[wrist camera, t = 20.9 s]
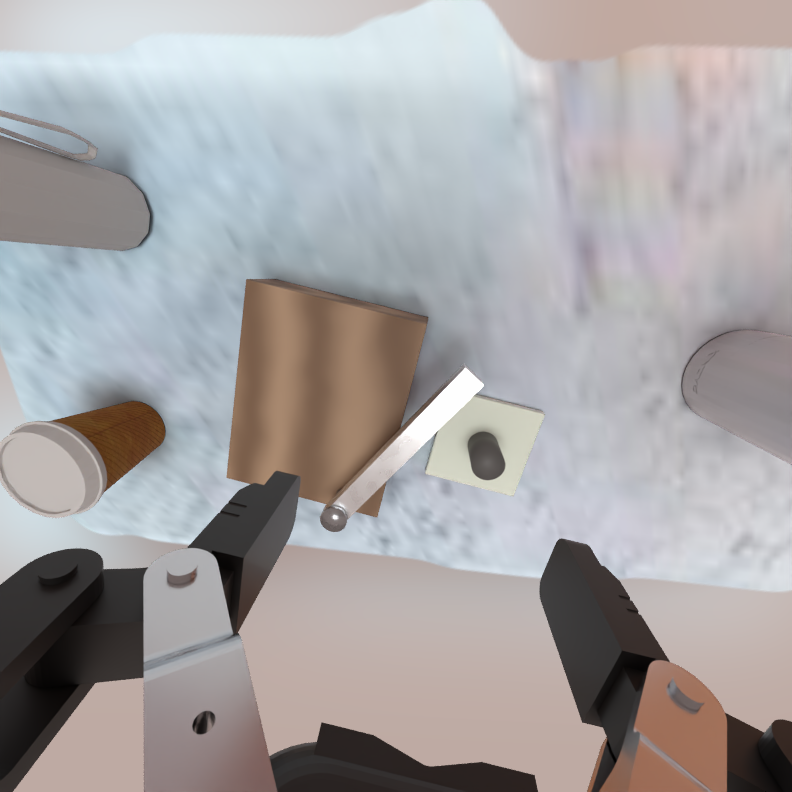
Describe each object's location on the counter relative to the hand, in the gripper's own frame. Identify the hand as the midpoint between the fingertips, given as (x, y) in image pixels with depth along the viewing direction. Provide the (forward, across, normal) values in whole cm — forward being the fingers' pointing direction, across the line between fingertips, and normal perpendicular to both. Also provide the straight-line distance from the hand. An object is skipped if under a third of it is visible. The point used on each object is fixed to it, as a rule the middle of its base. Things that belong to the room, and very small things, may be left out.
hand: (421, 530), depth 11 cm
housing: (+29, +9, +6) cm, 31 cm away
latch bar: (+21, +1, +8) cm, 22 cm away
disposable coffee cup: (+29, +31, +16) cm, 46 cm away
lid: (+29, -8, +8) cm, 31 cm away
